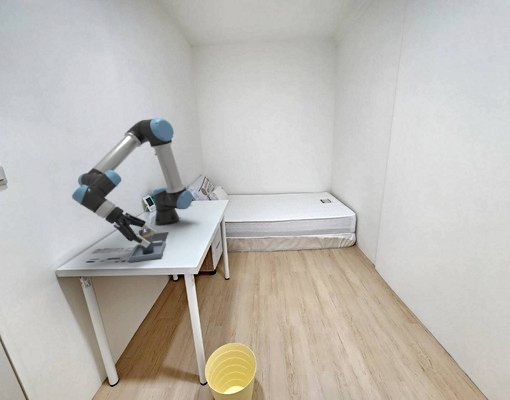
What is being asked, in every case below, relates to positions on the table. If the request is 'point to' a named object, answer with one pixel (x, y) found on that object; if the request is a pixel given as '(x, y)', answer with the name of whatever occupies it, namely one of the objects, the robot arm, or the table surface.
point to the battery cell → (147, 236)
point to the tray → (139, 256)
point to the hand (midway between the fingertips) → (151, 239)
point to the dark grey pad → (159, 237)
